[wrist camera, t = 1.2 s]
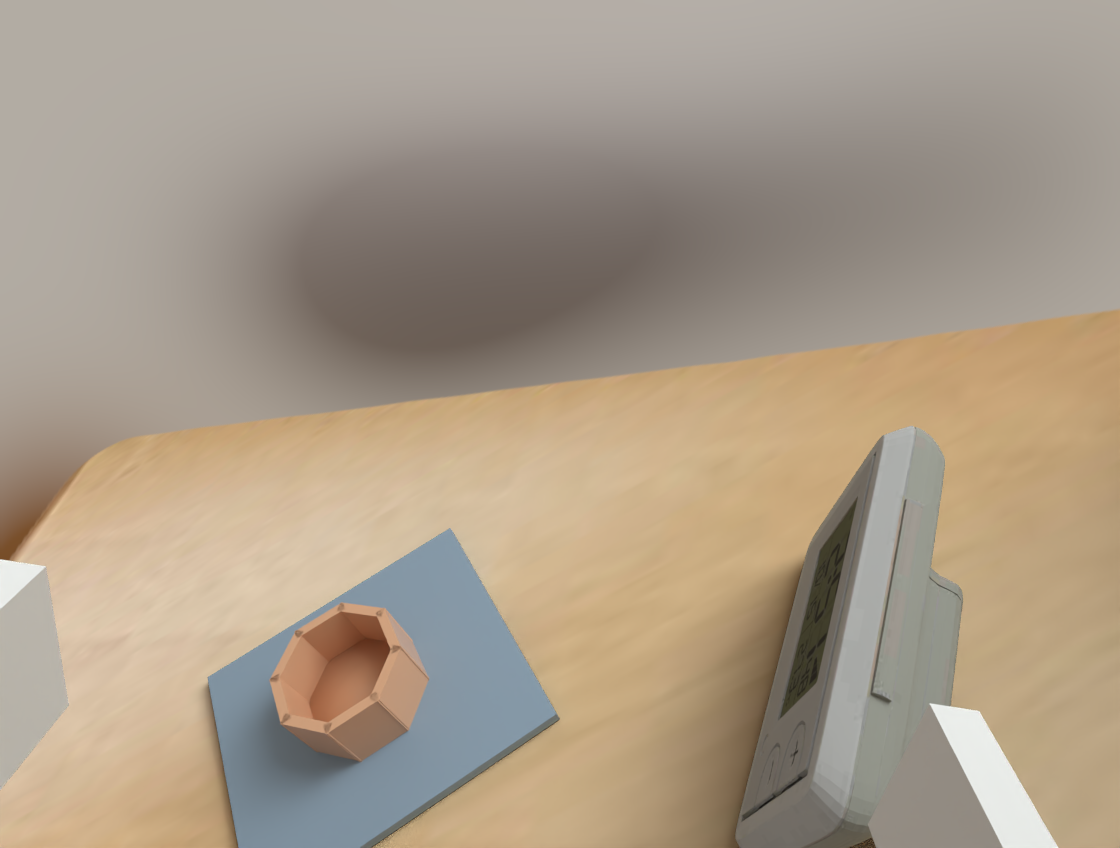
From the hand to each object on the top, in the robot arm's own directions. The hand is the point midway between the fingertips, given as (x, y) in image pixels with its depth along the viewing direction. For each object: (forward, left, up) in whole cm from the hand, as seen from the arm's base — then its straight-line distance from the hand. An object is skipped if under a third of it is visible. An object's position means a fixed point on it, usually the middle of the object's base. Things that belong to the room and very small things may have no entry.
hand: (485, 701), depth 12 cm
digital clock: (-11, -5, -25) cm, 28 cm away
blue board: (+8, -19, -25) cm, 32 cm away
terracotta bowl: (+8, -19, -24) cm, 32 cm away
